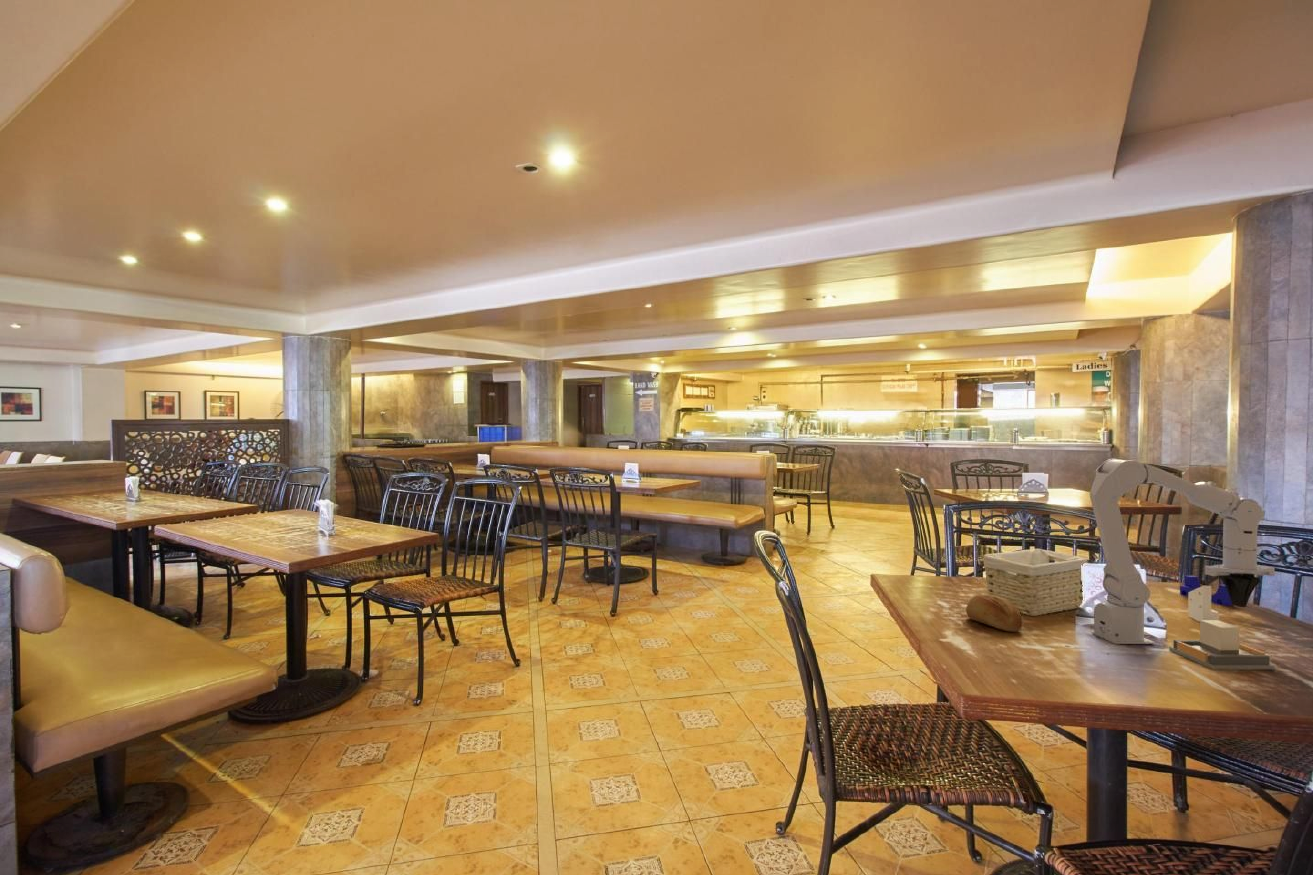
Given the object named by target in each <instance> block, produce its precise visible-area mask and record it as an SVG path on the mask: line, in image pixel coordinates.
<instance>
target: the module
mask: <svg viewBox="0 0 1313 875" xmlns="http://www.w3.org/2000/svg"><path fill="white" fill-rule="evenodd" d="M1199 623H1200V624H1199V628H1200V629H1199V640H1200V647H1203V648H1205V649H1208V650H1210V651H1213V652H1215V653H1218V654H1220V655H1239V643H1240V626H1239V627H1238V626H1236V625H1233V624H1231V623H1227V622H1225V621H1221V620H1220V619H1219V620H1200V622H1199Z"/></svg>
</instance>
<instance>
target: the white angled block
mask: <svg viewBox="0 0 1313 875" xmlns="http://www.w3.org/2000/svg"><path fill="white" fill-rule="evenodd" d="M1211 595H1212V585H1202V586H1201V587H1199V588H1197V589H1195V590H1192V591H1190V592H1188V597H1187V598H1188V599H1187V600H1188V601H1187V602H1188V604H1187V605H1188V611H1187V615H1188V616H1189V618H1190V617H1191V618H1190V619H1192V618H1193V619H1192V620H1194V619H1195V621H1197V622H1199V621H1200V620H1219V621H1220V612H1219V611H1216V610H1214V609H1212V602H1211ZM1188 616H1187V617H1188Z"/></svg>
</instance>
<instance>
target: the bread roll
mask: <svg viewBox="0 0 1313 875" xmlns="http://www.w3.org/2000/svg"><path fill="white" fill-rule="evenodd" d="M965 611H966V612H965V613H966V615H967V617H968V618H969V619H971V620H972V621H975V622H978V623H981V624H984V625H987V626H990V627H993V628H996V629H997V630H998V629H999V630H1001V631H1005V632H1015V633H1016V632H1019V631H1021V630H1022V627H1023V617H1022V614H1021V613H1020V612H1019V611H1018V609H1017V608H1016V607H1015V606H1014V605H1013V604H1012V603H1011V602H1009V601H1008V600H1006V599H1005V598H1002V597H999V596H996V595H989V594H988V593H987V594H986V593H985V594H980V593H979V594H977V595H976V594H975V595H974V596H972V597H971V598H970V599H969V601H968V603H967V606H966V608H965Z"/></svg>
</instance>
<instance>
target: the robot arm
mask: <svg viewBox="0 0 1313 875" xmlns="http://www.w3.org/2000/svg"><path fill="white" fill-rule="evenodd" d="M1142 484H1155V485H1157V486H1161V487H1163V488H1166V489H1168V490H1171V491H1174V492H1177V493H1179V494H1182V495H1185V497H1186V499H1187V501H1188V503H1189V504H1193V505H1194V506H1196V507H1200V508H1202V509H1204V510H1208V511H1210V512H1212V513H1214V514H1217V515H1219V516H1220V518H1222V520H1223V524H1222V525H1223V526H1222V531H1223V532H1222V533H1223V536H1222V545H1223V546H1222V564H1215V565H1214V564H1213V565H1205V566H1204V574H1205V575H1208V576H1210V577H1217V576H1219V577H1218V578H1219V579H1220V580H1221V581H1222V583H1223V585H1225V586H1226V588H1227V590H1228V593H1229V596H1230V599H1231V602H1232V605H1233V606H1235V607H1238V608H1246V607H1247V604H1248V601H1249V600H1250V597H1251V595H1252V593H1253V592H1254V590H1255V588H1256V587H1257V586H1258V585H1259V584H1260V583H1261V578H1260V577H1258V576H1267V577H1268V576H1269V577H1274V576H1275V573H1276V572H1275V567H1272V566H1267V565H1258V564H1257V563H1258V530H1259V524H1260V522H1261V521H1262V520H1263V519H1264V517H1265V514H1266V511H1265V510H1263V507H1262V506H1261V504H1259V502H1258V501H1256V500H1254V499H1251V498H1247V497H1240V495H1239V492H1236V491H1228V490H1225V489H1224V488H1221V487H1217V485H1218V484H1217V483H1215V482H1212V481H1207V482H1205V481H1199V482H1195V483H1193V482H1191V481H1189V480H1186V479H1184V478H1182V477H1180V476H1177V475H1175V474H1172V473H1170V472H1168V471H1166V470H1163V469H1161V468H1160V467H1159V468H1158V467H1157V466H1153V465H1151V464H1147V463H1141V462H1140V461H1137V460H1132V459H1131V460H1127V459H1119V458H1109V459H1107V460H1105V461H1103V462H1102V463H1101V464H1100V465H1099V466H1098V467H1097V468H1096V469H1095V478H1094V480H1093V484H1092V486H1091V488H1090V492H1089V498H1090V502H1091V508H1092V511H1093V516H1094V519H1095V522H1096V526H1097V530H1098V536H1099V539H1100V543H1101V546H1102V551H1103V554H1104V558H1105V559H1104V560H1105V563H1106V564H1105V565H1104V567H1103V569H1102V570H1103V574H1104V576H1103V579H1102V587H1103V589H1104V591H1105V592H1106V593H1107V596H1106V601H1104V602H1098V603H1096V604H1095V606H1094V609H1093V630H1091V634H1092V635H1095V636H1098V637H1100V638H1102V639H1103V640H1106V641H1107V642H1111V643H1112V644H1114V645H1152V644H1153V645H1154V643H1155V642H1154V641H1152V640H1150V639H1148V638H1146V637H1145V636H1144V634H1145V604H1146V603H1147V602H1148V601H1149V599H1150V596H1151V591H1150V589H1149V587H1148V585H1147V584H1146V583H1145V582H1144V580H1143V577H1142V575H1141V573H1140V571H1139V570H1138V568H1137V567H1136V566H1135V564H1134V561H1133V557H1132V554H1131V550H1130V544H1129V541H1128V537H1127V534H1126V529H1125V524H1124V523H1123V522H1124V521H1123V517H1122V513H1121V509H1120V504H1119V500H1120V499H1121V498H1122V497H1123V496H1124V495H1125V494H1126V493H1127V492H1129V491H1131V490H1134V489H1135V488H1137V487H1139V486H1140V485H1142ZM1256 576H1257V577H1256Z"/></svg>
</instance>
